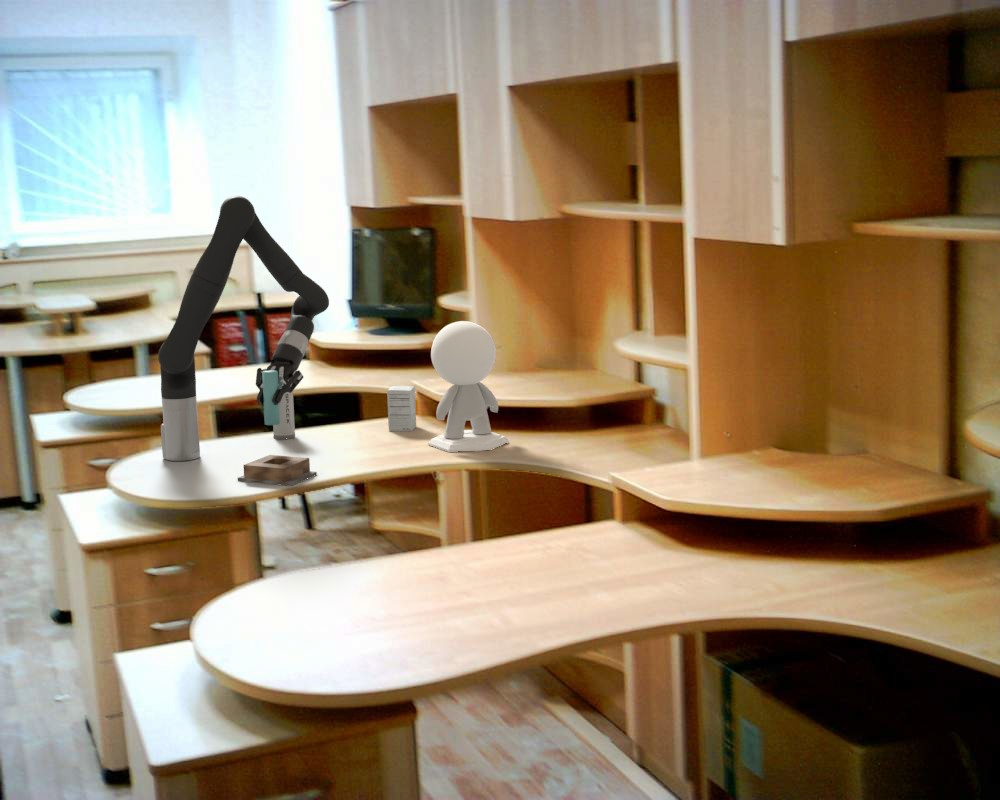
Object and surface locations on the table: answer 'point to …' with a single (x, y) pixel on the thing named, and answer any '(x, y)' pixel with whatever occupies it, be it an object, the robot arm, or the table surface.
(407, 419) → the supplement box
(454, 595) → the table surface
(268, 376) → the peg
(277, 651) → the table surface
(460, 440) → the white toy figurine
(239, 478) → the socket
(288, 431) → the travel mug
